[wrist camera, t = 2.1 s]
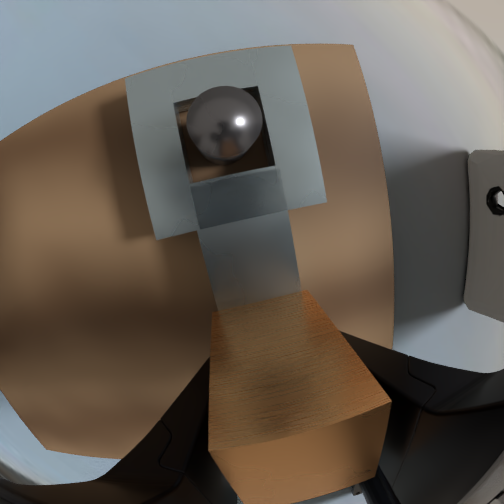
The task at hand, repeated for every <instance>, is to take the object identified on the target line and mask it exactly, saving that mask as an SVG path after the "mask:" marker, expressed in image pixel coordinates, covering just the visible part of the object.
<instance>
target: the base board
mask: <svg viewBox="0 0 504 504" xmlns="http://www.w3.org/2000/svg"><path fill="white" fill-rule="evenodd" d="M289 45H291V47H292V50H293V54H294V57H295V60H296V64H297V67H298V71H299V75H300V78H301V82H302V86H303V90H304V93H305V97H306V101H307V105H308V110H309V114H310V118H311V122H312V127H313V131H314V136H315V140H316V145H317V150H318V155H319V160H320V165H321V170H322V176H323V181H324V187H325V193H326V199H327V202H326V203H321V204H316V205H311V206H306V207H301V208H296V209H291V210H288V214H289V220H290V225H291V231H292V236H293V242H294V248H295V254H296V260H297V266H298V272H299V278H300V285H301V291H304V290H308V291H309V293H310V294H311V295H312V296H313V298H314V299H315V300H316V301H317V303H318V304H319V305H320V307H321V308H322V309H323V311H324V312H325V313H326V314H327V316H328V317H329V318H330V320H331V321H332V322H333V323H334V325H335V326H336V327H337V329H338V330H339V331H342V332H345V333H347V334H350V335H353V336H356V337H358V338H361V339H364V340H366V341H369V342H372V343H375V344H377V345H380V346H383V347H386V348H389V349H392V346H393V328H394V260H393V242H392V228H391V217H390V208H389V199H388V191H387V184H386V177H385V170H384V164H383V158H382V153H381V147H380V142H379V137H378V132H377V128H376V123H375V119H374V114H373V110H372V106H371V102H370V98H369V95H368V91H367V87H366V84H365V80H364V77H363V74H362V70H361V67H360V64H359V61H358V58H357V55H356V52H355V49H354V46H353V45H346V44H289ZM289 45H274V46H289ZM274 46H263V47H274ZM263 47H253V48H263ZM253 48H245V49H253ZM245 49H238V50H245ZM238 50H231V51H238ZM231 51H225V52H231ZM225 52H219V53H225ZM219 53H213V54H219ZM213 54H208V55H213ZM208 55H203V56H208ZM203 56H198V57H203ZM198 57H194V58H198ZM194 58H189V59H194ZM189 59H185V60H189ZM185 60H181V61H185ZM181 61H177V62H181ZM177 62H173V63H177ZM173 63H169V64H173ZM169 64H165V65H162V66H166V65H169ZM162 66H158V67H155V68H159V67H162ZM155 68H151V69H148V70H152V69H155ZM148 70H145V71H148ZM145 71H142V72H145ZM142 72H139V73H142ZM139 73H136V74H139ZM136 74H133V75H136ZM133 75H130V76H133ZM130 76H127V77H130ZM127 77H124V78H121V79H119V80H116V81H113V82H111V83H108V84H106V85H103V86H101V87H98V88H96V89H94V90H91V91H89V92H87V93H84V94H82V95H80V96H78V97H76V98H74V99H72V100H69V101H67V102H65V103H63V104H61V105H59V106H58V107H56V108H54V109H52V110H50V111H48V112H46V113H44V114H43V115H41V116H39V117H37V118H36V119H34V120H32V121H31V122H29V123H27V124H26V125H24V126H22V127H21V128H19V129H18V130H16V131H15V132H13V133H12V134H10V135H9V136H7V137H6V138H4V139H3V140H1V141H0V390H1V391H2V393H3V394H4V396H5V397H6V399H7V400H8V402H9V403H10V404H11V406H12V407H13V409H14V410H15V411H16V413H17V414H18V416H19V417H20V418H21V420H22V421H23V422H24V423H25V425H26V426H27V427H28V428H29V430H30V431H31V432H32V433H33V435H34V436H35V437H36V438H37V439H38V440H39V442H40V443H41V444H42V445H43V446H44V447H45V448H46V450H51V451H57V452H62V453H68V454H75V455H82V456H90V457H100V458H112V459H122V458H123V457H125V456H126V455H127V454H128V453H129V452H130V451H131V450H132V449H133V448H134V447H135V446H136V445H137V444H138V443H139V442H140V441H141V440H142V439H143V438H144V437H145V436H146V435H147V434H148V432H149V431H150V430H151V429H152V428H153V427H154V425H155V424H156V423H157V422H158V421H159V420H160V418H161V417H162V416H163V414H164V413H165V412H166V411H167V410H168V408H169V407H170V406H171V405H172V403H173V402H174V401H175V400H176V398H177V397H178V396H179V395H180V393H181V392H182V391H183V389H184V388H185V387H186V386H187V384H188V383H189V382H190V381H191V379H192V378H193V377H194V375H195V374H196V373H197V372H198V370H199V369H200V368H201V367H202V365H203V364H204V363H205V361H206V360H207V359H208V358H209V357H210V350H211V327H212V312H215V311H218V308H217V305H216V301H215V298H214V294H213V290H212V287H211V283H210V279H209V276H208V272H207V268H206V264H205V260H204V257H203V253H202V249H201V245H200V241H199V237H198V233H197V230H196V231H192V232H188V233H184V234H180V235H176V236H172V237H168V238H164V239H160V240H156V237H155V233H154V229H153V225H152V222H151V218H150V214H149V210H148V205H147V201H146V197H145V193H144V188H143V184H142V179H141V174H140V169H139V165H138V160H137V154H136V149H135V144H134V138H133V132H132V126H131V120H130V114H129V107H128V100H127V92H126V84H125V78H127ZM253 98H254V97H253ZM187 113H188V110H185V111H182V112H179V116H180V121H181V126H182V131H183V136H184V141H185V146H186V151H187V156H188V161H189V165H190V170H191V175H192V179H193V183H196V182H200V181H204V180H208V179H213V178H217V177H221V176H226V175H230V174H235V173H240V172H245V171H250V170H255V169H260V168H265V167H269V165H268V160H267V155H266V151H265V146H264V141H263V137H262V132H261V131H260V134H259V136H258V138H257V139H256V141H255V142H254V143H253V144H252V146H251V147H250V148H249V149H248V151H247V152H246V153H245V154H244V156H243V157H242V158H241V159H239V160H238V161H236V162H234V163H232V164H227V165H218V164H214V163H212V162H210V161H208V160H207V159H206V158H205V157H204V156H203V155H202V154H201V152H200V151H199V150H198V148H197V147H196V145H195V144H194V142H193V141H192V139H191V138H190V136H189V133H188V130H187V125H186V118H187Z"/></svg>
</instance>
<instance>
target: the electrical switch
mask: <svg viewBox="0 0 504 504" xmlns="http://www.w3.org/2000/svg"><path fill="white" fill-rule="evenodd" d="M467 163H468V175H469V192H470V236H469V254H468V266H467V275H466V284H465V291H464V302H465V304H466V306H467V307H468V309H469V310H472V311H475V312H477V313H480V314H483V315H486V316H488V317H491V318H494V319H496V320H499V321H501V322H504V207H502V206H501V205H499V204H498V193H499V192H500V191H502V192H503V194H504V151H499V150H475V151H473V152H472V153H471V154H470V155H469V158H468V162H467Z"/></svg>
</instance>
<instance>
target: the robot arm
mask: <svg viewBox="0 0 504 504" xmlns="http://www.w3.org/2000/svg"><path fill="white" fill-rule="evenodd" d="M340 333H341V334H342V335H343V337H344V338H345V339H346V340H347V342H348V343H349V344H350V346H351V347H352V348H353V350H354V351H355V352H356V354H357V355H358V356H359V358H360V359H361V360H362V362H363V363H364V364H365V366H366V367H367V368H368V370H369V371H370V372H371V374H372V375H373V376H374V378H375V379H376V380H377V382H378V383H379V384H380V386H381V387H382V388H383V390H384V391H385V392H386V394H387V395H388V397H389V398H390V399H391V401H392V403H391V409H390V414H389V420H388V425H387V430H386V434H385V439H384V443H383V448H382V452H381V456H380V459H379V463H378V467H377V470H376V474H375V477H373V478H371V479H368V480H366V481H363V482H360V483H358V484H355V485H353V489H352V494H353V495H354V496H355V495H358V494H361V493H363V495H364V497H365V499H366V502H367V504H504V369H502V370H500V371H497V372H493V373H478V372H473V371H468V370H462V369H457V368H452V367H448V366H443V365H439V364H435V363H431V362H428V361H424V360H421V359H418V358H415V357H412V356H408V355H406V354H403V353H400V352H397V351H394V350H392V349H389V348H386V347H383V346H380V345H377V344H375V343H372V342H369V341H366V340H364V339H361V338H358V337H356V336H353V335H350V334H347V333H345V332H342V331H340ZM209 380H210V357H209V358H208V359H207V360H206V361H205V363H204V364H203V365H202V367H201V368H200V369H199V370H198V372H197V373H196V374H195V375H194V377H193V378H192V379H191V381H190V382H189V383H188V384H187V386H186V387H185V388H184V389H183V391H182V392H181V393H180V395H179V396H178V397H177V398H176V400H175V401H174V402H173V403H172V405H171V406H170V407H169V408H168V410H167V411H166V412H165V413H164V414H163V416H162V417H161V418H160V420H159V421H158V422H157V423H156V424H155V425H154V427H153V428H152V429H151V430H150V431H149V432H148V434H147V435H146V436H145V437H144V438H143V439H142V440H141V441H140V442H139V443H138V444H137V445H136V446H135V447H134V448H133V449H132V450H131V451H130V452H129V453H128V454H127V455H126V456H125V457H123V458H122V459H121V460H120V461H119V462H118V463H117V464H116V465H115V466H114V467H113V468H111V469H110V470H109V471H108V472H107V473H106V474H104V475H103V476H101V477H99V478H97V479H95V480H91V481H87V482H79V483H69V484H57V485H21V484H16V483H13V482H10V481H8V480H6V479H3V478H0V504H237V494H236V492H235V491H234V490H233V488H232V487H231V485H230V484H229V482H228V481H227V479H226V478H225V476H224V475H223V473H222V472H221V470H220V469H219V467H218V466H217V464H216V462H215V461H214V459H213V458H212V456H211V454H210V453H209Z"/></svg>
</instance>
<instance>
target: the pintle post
mask: <svg viewBox="0 0 504 504" xmlns="http://www.w3.org/2000/svg"><path fill="white" fill-rule="evenodd" d="M186 125H187V130H188V133H189V136H190V138H191V139H192V141H193V142H194V144H195V145H196V147H197V148H198V150H199V151H200V152H201V154H202V155H203V156H204V157H205V158H206V159H207V160H208V161H210V162H212V163H214V164H218V165H227V164H232V163H234V162H236V161H238V160H239V159H241V158H242V157H243V156H244V154H245V153H246V152H247V151H248V149H249V148H250V147H251V146H252V144H253V143H254V142H255V141H256V139H257V138H258V136H259V134H260V131H261V128H262V113H261V109H260V107H259V105H258V103H257V102H256V100H255V99H254V98H253V97H252V96H251V95H250V94H249V93H247V92H246V91H244V90H242V89H240V88H237V87H233V86H217V87H213V88H211V89H208V90H206V91H204V92H203V93H201V94H200V95H199V96H198V97H197V98H196V99H195V100H194V101H193V102H192V104H191V106H190V108H189V110H188V113H187V118H186Z"/></svg>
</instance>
